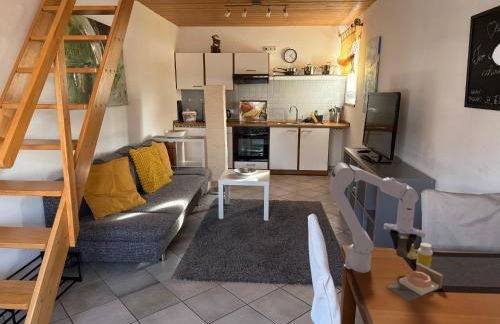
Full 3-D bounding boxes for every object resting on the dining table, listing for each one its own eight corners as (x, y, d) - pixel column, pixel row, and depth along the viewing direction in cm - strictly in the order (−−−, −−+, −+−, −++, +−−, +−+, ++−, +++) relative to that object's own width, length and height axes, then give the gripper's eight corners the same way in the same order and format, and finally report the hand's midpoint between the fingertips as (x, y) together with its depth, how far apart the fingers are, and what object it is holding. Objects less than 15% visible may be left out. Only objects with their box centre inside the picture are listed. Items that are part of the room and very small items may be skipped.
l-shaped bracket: (385, 289, 121) (387, 274, 120) (417, 277, 129) (419, 263, 127) (408, 303, 113) (410, 287, 112) (441, 290, 120) (443, 275, 119)
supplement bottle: (432, 271, 133) (435, 248, 131) (417, 270, 134) (420, 247, 132) (428, 264, 138) (431, 242, 136) (414, 263, 139) (416, 241, 137)
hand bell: (396, 249, 151) (399, 215, 148) (416, 252, 148) (420, 218, 145) (397, 258, 144) (400, 222, 140) (419, 261, 141) (422, 225, 137)
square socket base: (399, 282, 124) (400, 273, 123) (415, 276, 128) (416, 267, 127) (421, 295, 116) (422, 286, 115) (438, 288, 120) (439, 279, 119)
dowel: (393, 253, 132) (395, 237, 131) (400, 251, 134) (402, 235, 132) (402, 258, 129) (404, 241, 127) (409, 255, 130) (411, 239, 129)
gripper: (382, 216, 129) (380, 249, 132) (424, 224, 121) (421, 259, 124) (387, 211, 135) (384, 242, 137) (427, 218, 126) (424, 252, 129)
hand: (402, 250), depth 131 cm, fingers closed on dowel, 4 cm apart
